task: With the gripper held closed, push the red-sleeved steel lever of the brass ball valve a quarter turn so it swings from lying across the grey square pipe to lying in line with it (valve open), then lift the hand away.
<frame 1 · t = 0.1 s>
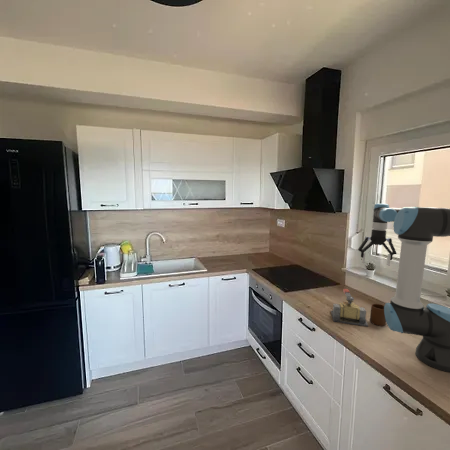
hand: (375, 264, 156), 28 cm above the worktop, fingers open, 13 cm apart
valve: (348, 318, 144), on the worktop
lever: (348, 294, 148), point 12 cm above the worktop, hinge at 0.0°
mug: (380, 322, 141), on the worktop
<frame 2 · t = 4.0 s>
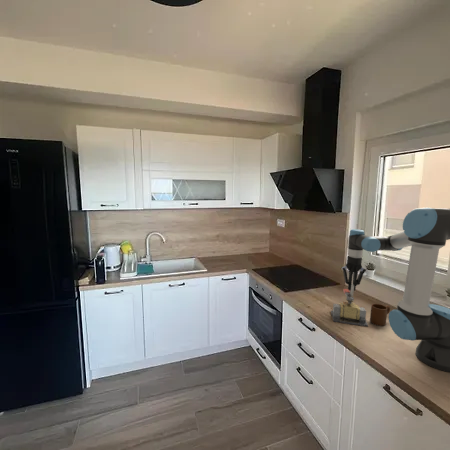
hand: (351, 295, 150), 11 cm above the worktop, fingers closed
lever: (348, 294, 148), point 12 cm above the worktop, hinge at 0.0°, touching gripper
everything else where it was.
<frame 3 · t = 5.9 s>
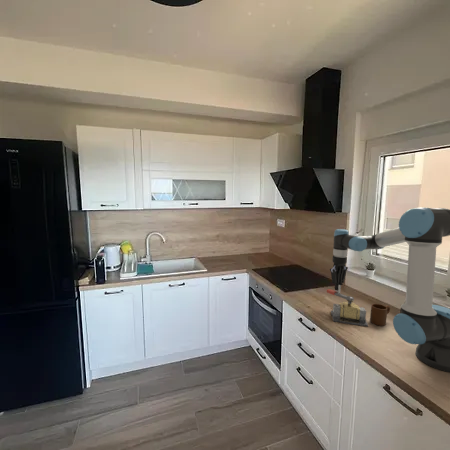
hand: (337, 295, 151), 10 cm above the worktop, fingers closed
lever: (340, 295, 147), point 12 cm above the worktop, hinge at 48.6°, touching gripper
everything else where it was.
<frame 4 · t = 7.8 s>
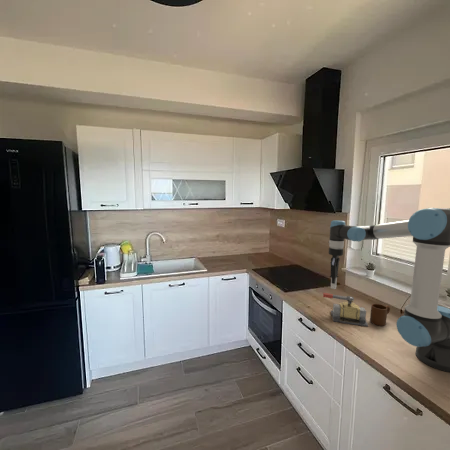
hand: (333, 288, 146), 16 cm above the worktop, fingers closed
lever: (338, 297, 144), point 12 cm above the worktop, hinge at 84.9°
everything else where it was.
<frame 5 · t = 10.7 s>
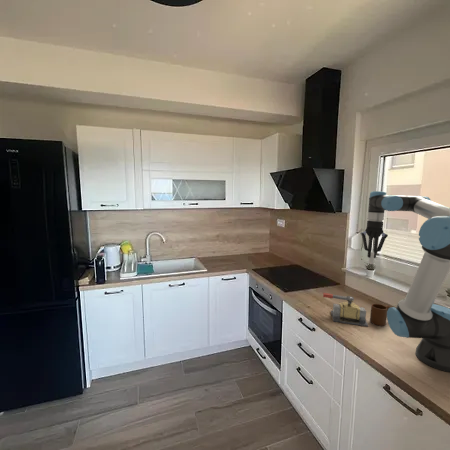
hand: (370, 263, 139), 32 cm above the worktop, fingers closed
nothing on the worktop moved.
at the end: lever at +85° (first picture: +0°); lever touching nothing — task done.
